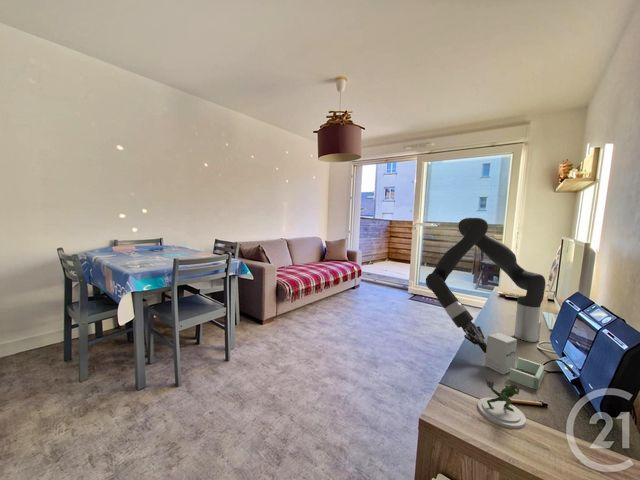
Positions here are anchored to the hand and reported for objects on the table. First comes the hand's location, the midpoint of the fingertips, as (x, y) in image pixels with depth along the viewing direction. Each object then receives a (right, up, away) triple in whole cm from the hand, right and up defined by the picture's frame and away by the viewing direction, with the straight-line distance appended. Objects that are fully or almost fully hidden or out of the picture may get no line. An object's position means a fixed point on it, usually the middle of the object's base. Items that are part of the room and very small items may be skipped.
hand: (487, 351), depth 111 cm
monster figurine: (-14, -7, -28) cm, 32 cm away
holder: (+9, -6, -9) cm, 14 cm away
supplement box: (+3, -5, -3) cm, 7 cm away
